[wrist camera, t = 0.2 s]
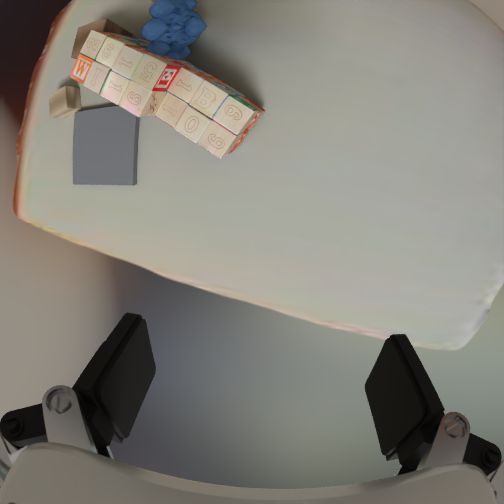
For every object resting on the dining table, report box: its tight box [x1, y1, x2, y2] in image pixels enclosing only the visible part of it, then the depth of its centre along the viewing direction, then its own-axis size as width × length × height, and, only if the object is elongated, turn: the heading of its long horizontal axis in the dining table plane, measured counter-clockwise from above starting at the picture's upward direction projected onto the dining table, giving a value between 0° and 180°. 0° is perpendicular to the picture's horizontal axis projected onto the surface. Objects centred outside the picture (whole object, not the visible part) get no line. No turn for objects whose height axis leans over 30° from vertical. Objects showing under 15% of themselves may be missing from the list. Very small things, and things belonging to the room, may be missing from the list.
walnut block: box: [71, 18, 133, 59], centre depth 25 cm, size 5×5×8 cm
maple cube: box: [49, 86, 82, 118], centre depth 30 cm, size 4×4×4 cm
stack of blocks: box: [70, 30, 265, 159], centre depth 25 cm, size 21×6×12 cm, turn 53°
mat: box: [73, 106, 140, 185], centre depth 34 cm, size 12×12×1 cm
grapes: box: [141, 0, 207, 60], centre depth 22 cm, size 12×7×12 cm, turn 172°
